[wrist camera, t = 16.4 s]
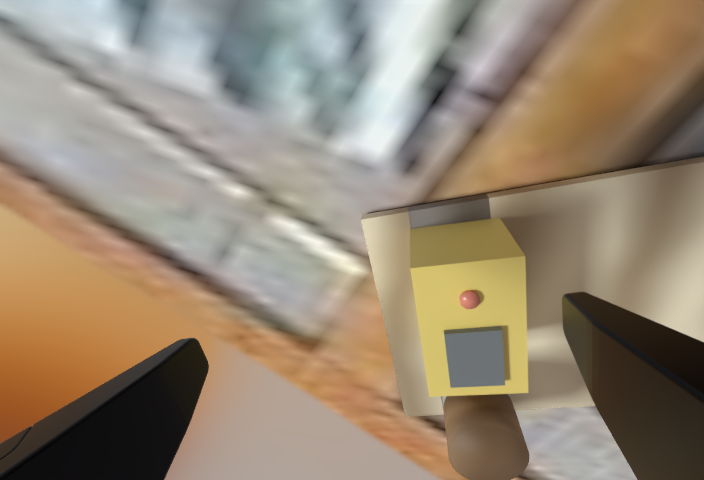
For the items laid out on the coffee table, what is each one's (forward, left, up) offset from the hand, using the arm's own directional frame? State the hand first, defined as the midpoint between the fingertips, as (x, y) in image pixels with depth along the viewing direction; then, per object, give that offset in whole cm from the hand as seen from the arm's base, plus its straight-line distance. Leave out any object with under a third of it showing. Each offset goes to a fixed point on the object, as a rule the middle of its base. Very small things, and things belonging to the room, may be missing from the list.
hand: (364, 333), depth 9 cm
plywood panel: (-8, +8, -12) cm, 17 cm away
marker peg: (-3, +12, -11) cm, 17 cm away
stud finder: (-3, +5, -11) cm, 13 cm away
